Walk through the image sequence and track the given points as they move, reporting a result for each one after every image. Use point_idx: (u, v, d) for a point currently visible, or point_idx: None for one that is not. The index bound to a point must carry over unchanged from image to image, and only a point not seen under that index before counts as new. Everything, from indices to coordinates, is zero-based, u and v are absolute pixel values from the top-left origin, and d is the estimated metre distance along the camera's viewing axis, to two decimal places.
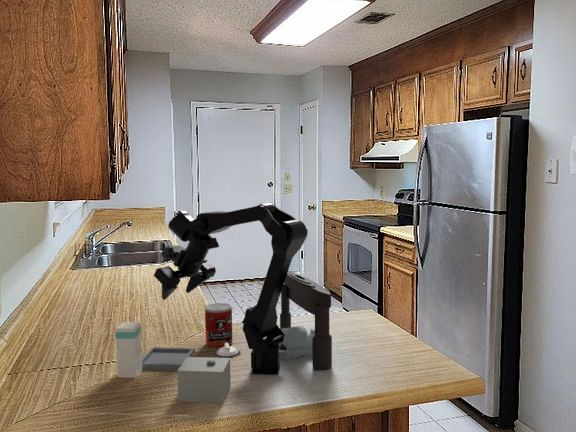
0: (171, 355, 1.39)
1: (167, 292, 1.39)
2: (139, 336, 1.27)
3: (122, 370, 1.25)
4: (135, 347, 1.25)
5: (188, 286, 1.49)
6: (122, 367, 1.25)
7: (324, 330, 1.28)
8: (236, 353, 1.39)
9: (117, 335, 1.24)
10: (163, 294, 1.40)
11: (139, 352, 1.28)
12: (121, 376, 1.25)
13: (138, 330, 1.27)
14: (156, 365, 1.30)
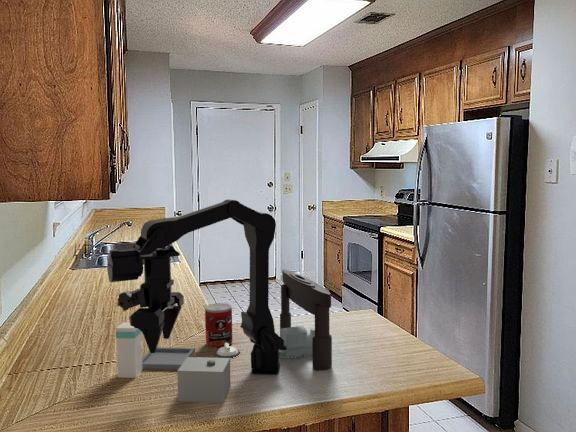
0: (171, 355, 1.39)
1: (155, 337, 1.09)
2: (139, 336, 1.28)
3: (122, 370, 1.25)
4: (135, 346, 1.25)
5: (164, 330, 1.20)
6: (122, 367, 1.25)
7: (324, 330, 1.28)
8: (236, 353, 1.39)
9: (117, 335, 1.24)
10: (151, 345, 1.10)
11: (140, 352, 1.28)
12: (121, 376, 1.25)
13: (138, 330, 1.27)
14: (156, 365, 1.30)
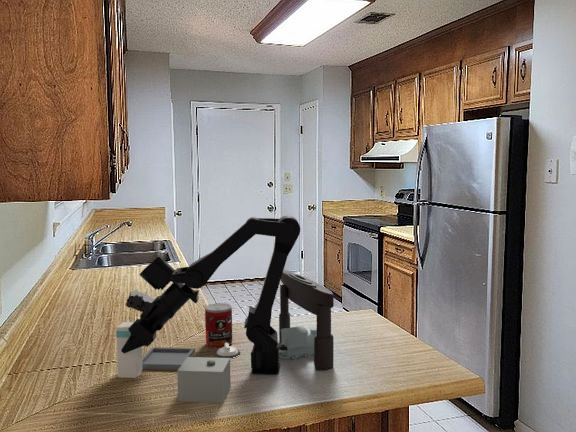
0: (171, 355, 1.39)
1: (135, 346, 1.23)
2: None
3: (122, 370, 1.25)
4: None
5: None
6: (123, 366, 1.25)
7: (326, 330, 1.28)
8: (236, 353, 1.39)
9: (118, 334, 1.24)
10: (126, 347, 1.24)
11: (140, 352, 1.28)
12: (121, 376, 1.25)
13: None
14: (156, 365, 1.30)
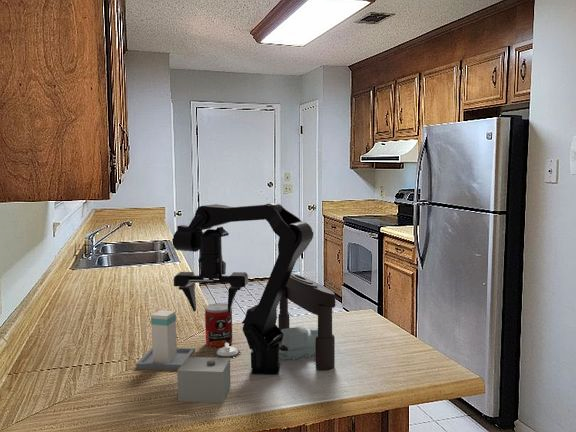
0: None
1: None
2: (173, 324, 1.35)
3: (156, 355, 1.33)
4: (168, 333, 1.33)
5: None
6: (157, 352, 1.33)
7: (327, 330, 1.28)
8: (236, 353, 1.39)
9: (152, 321, 1.33)
10: None
11: (174, 339, 1.35)
12: (155, 360, 1.34)
13: (172, 318, 1.34)
14: (156, 365, 1.30)
